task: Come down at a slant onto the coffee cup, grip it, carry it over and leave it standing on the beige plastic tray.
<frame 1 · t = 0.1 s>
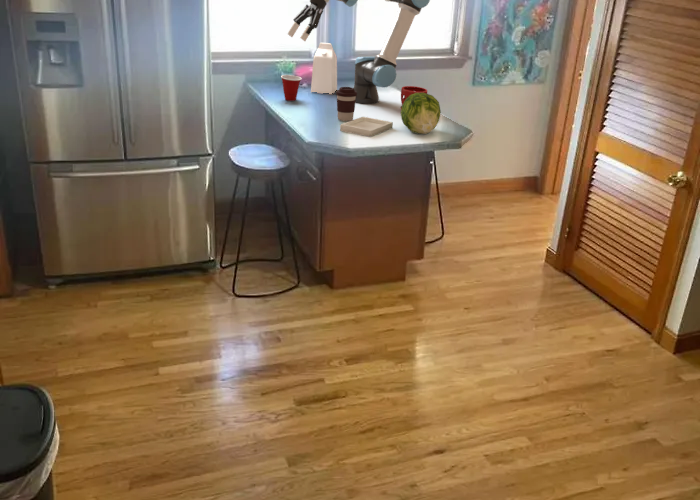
hand: (296, 37, 339), 36 cm above the worktop, tool tilted 35°, fingers open, 13 cm apart
milk: (324, 91, 404), on the worktop
tray: (366, 129, 332), on the worktop
plastic cup: (291, 100, 381), on the worktop
coffee cup: (345, 120, 347), on the worktop
lettuce: (420, 132, 333), on the worktop
plant pot: (412, 112, 368), on the worktop
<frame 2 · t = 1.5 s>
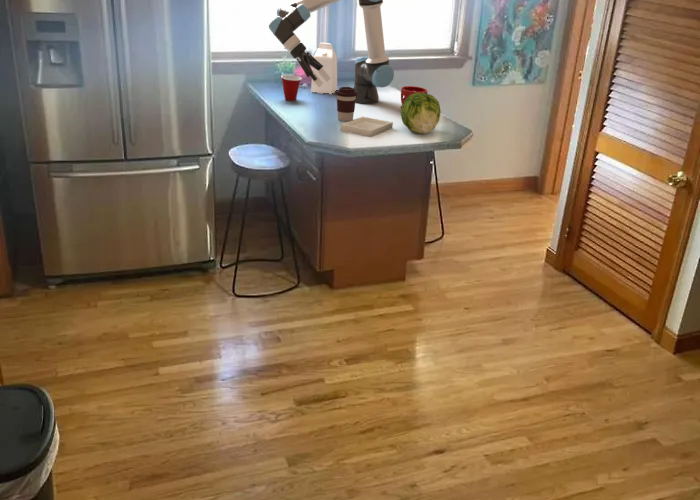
hand: (325, 82, 342), 17 cm above the worktop, tool tilted 45°, fingers open, 13 cm apart
nothing on the worktop moved.
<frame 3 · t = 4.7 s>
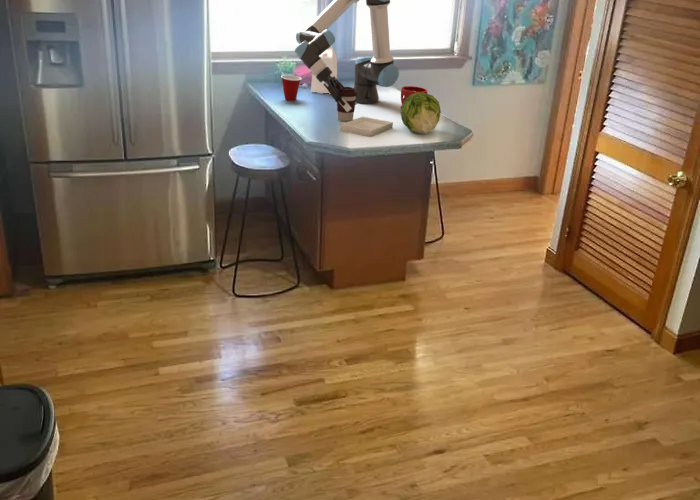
hand: (352, 107, 344), 6 cm above the worktop, tool tilted 45°, fingers closed on coffee cup, 10 cm apart
coffee cup: (345, 120, 347), on the worktop, touching gripper
everything else where it was.
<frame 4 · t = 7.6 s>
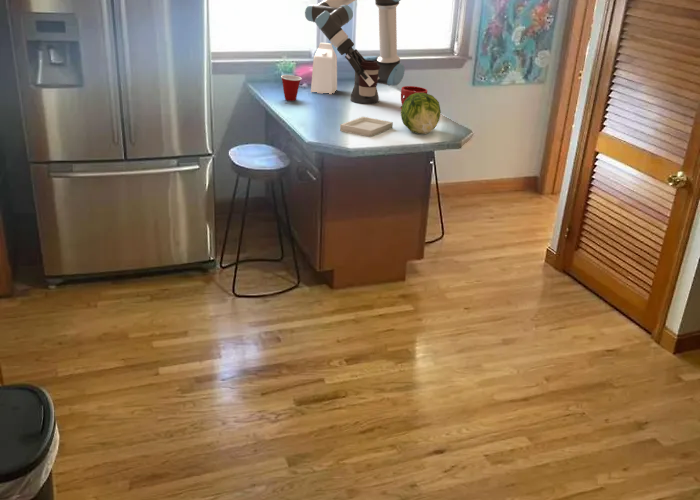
hand: (374, 82, 325), 21 cm above the worktop, tool tilted 45°, fingers closed on coffee cup, 10 cm apart
coffee cup: (367, 95, 328), point 15 cm above the worktop, touching gripper
everything else where it was.
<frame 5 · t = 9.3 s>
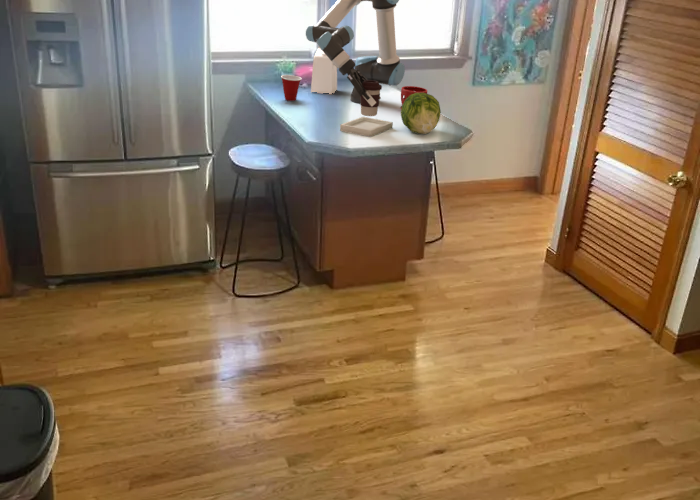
hand: (376, 102, 327), 13 cm above the worktop, tool tilted 45°, fingers closed on coffee cup, 10 cm apart
coffee cup: (368, 115, 331), point 6 cm above the worktop, touching gripper
everything else where it was.
when the fingers open (9 cm above the worktop, at t = 10.6 s): coffee cup drops 1 cm, resting on tray.
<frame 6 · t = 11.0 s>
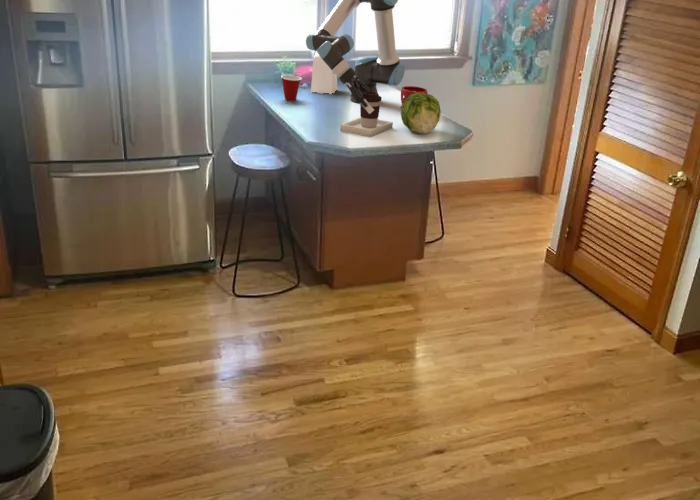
hand: (375, 108, 329), 9 cm above the worktop, tool tilted 45°, fingers open, 13 cm apart
coffee cup: (368, 126, 333), point 1 cm above the worktop, touching tray
everything else where it was.
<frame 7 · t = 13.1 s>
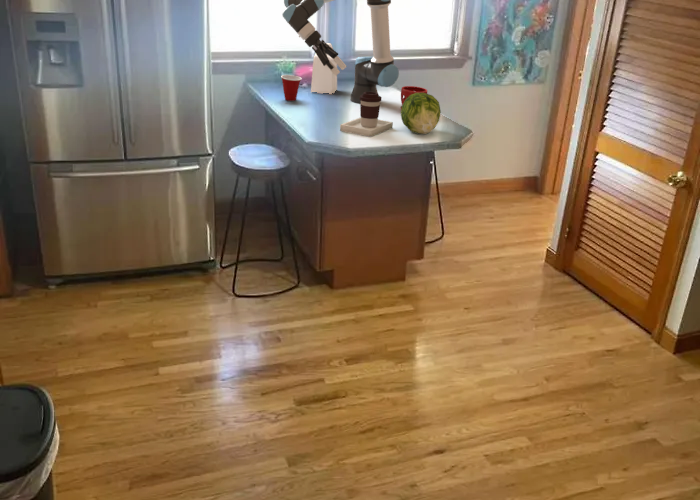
hand: (341, 71, 334), 23 cm above the worktop, tool tilted 45°, fingers open, 13 cm apart
nothing on the worktop moved.
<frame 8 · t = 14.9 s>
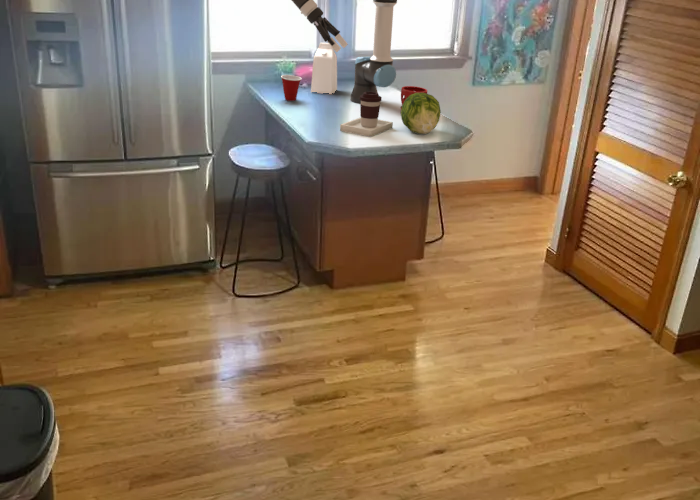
hand: (342, 48, 336), 33 cm above the worktop, tool tilted 45°, fingers open, 13 cm apart
nothing on the worktop moved.
at the end: coffee cup 2.3 cm from the tray (horizontally); coffee cup tilted 0°; the gripper is holding nothing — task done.
